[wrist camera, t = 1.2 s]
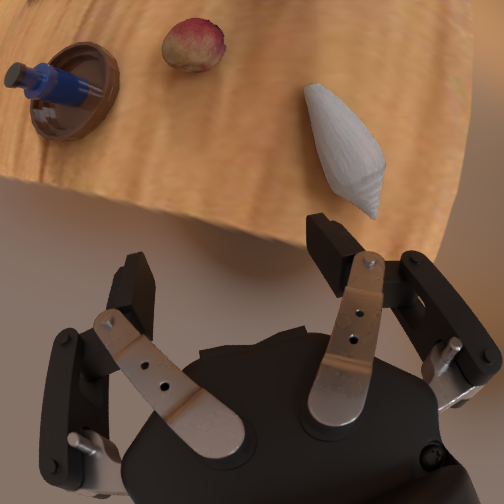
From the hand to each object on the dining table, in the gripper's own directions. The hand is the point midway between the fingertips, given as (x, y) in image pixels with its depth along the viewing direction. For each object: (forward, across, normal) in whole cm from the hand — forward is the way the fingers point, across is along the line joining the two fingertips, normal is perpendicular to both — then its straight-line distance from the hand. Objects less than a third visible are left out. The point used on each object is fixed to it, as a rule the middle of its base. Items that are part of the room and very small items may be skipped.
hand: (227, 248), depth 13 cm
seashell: (+22, -17, +2) cm, 28 cm away
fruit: (+29, -2, -12) cm, 31 cm away
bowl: (+32, +17, -12) cm, 38 cm away
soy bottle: (+31, +17, -12) cm, 38 cm away
